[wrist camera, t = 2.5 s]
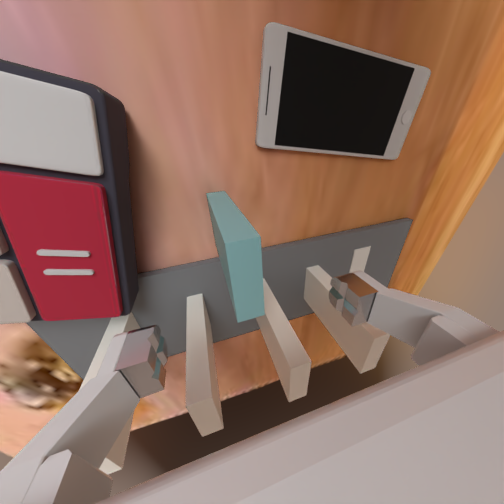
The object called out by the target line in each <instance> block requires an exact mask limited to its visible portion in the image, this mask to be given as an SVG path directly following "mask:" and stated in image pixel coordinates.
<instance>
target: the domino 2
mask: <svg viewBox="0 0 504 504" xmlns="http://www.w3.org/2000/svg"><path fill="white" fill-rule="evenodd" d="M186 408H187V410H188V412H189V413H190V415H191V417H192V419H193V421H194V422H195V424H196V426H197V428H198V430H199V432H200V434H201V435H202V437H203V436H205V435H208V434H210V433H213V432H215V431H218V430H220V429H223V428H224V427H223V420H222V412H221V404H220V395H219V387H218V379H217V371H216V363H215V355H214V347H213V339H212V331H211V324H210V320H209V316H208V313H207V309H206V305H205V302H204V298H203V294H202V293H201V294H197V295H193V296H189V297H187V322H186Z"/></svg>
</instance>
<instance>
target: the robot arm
mask: <svg viewBox="0 0 504 504" xmlns="http://www.w3.org/2000/svg"><path fill="white" fill-rule="evenodd" d="M330 285H331V286H332V288H331V289H330V291H329V300H330V303H331V304H332V306H333V307H334V308H335V309H336V310H338V311H341V312H342V317H343V318H344V319H345V320H346V321H347V322H348V323H349V324H350V325H351V326H355V325H359V324H362V323H365V322H367V323H369V324H370V325H372V326H374V327H376V328H378V329H380V330H382V331H384V332H386V333H388V334H389V335H391V336H393V337H395V338H397V339H399V340H401V341H403V342H405V343H407V344H408V345H411V346H413V347H414V348H415V349H414V351H413V353H412V354H411V359H412V360H413V361H415V363H417V364H418V365H419V366H418V367H416V368H413V369H411V370H408V371H406V372H404V373H402V374H399V375H396V376H394V377H392V378H389V379H387V380H385V381H383V382H380V383H378V384H376V385H373V386H371V387H368V388H366V389H363V390H361V391H359V392H356V393H354V394H352V395H349V396H347V397H344V398H342V399H340V400H337V401H335V402H333V403H330V404H328V405H326V406H323V407H321V408H318V409H316V410H314V411H311V412H309V413H307V414H305V415H302V416H299V417H297V418H295V419H293V420H290V421H288V422H285V423H283V424H281V425H278V426H276V427H273V428H271V429H269V430H266V431H264V432H262V433H260V434H257V435H255V436H252V437H250V438H248V439H245V440H243V441H241V442H238V443H236V444H233V445H231V446H229V447H226V448H224V449H222V450H219V451H217V452H214V453H212V454H210V455H208V456H205V457H203V458H200V459H198V460H195V461H193V462H191V463H188V464H186V465H184V466H182V467H179V468H177V469H174V470H172V471H169V472H167V473H165V474H162V475H160V476H158V477H156V478H153V479H151V480H148V481H146V482H144V483H141V484H139V485H136V486H134V487H132V488H129V489H127V490H125V491H122V492H120V493H118V494H115V495H113V496H110V492H111V488H112V484H113V480H112V478H111V477H110V476H109V475H107V474H106V473H104V472H103V471H101V470H99V468H100V466H101V464H102V463H103V461H104V459H105V458H106V456H107V454H108V453H109V451H110V449H111V448H112V446H113V444H114V443H115V441H116V439H117V438H118V436H119V434H120V433H121V431H122V429H123V428H124V426H125V424H126V423H127V421H128V419H129V418H130V416H131V414H132V413H133V411H134V409H135V408H136V406H137V404H138V403H139V401H140V399H139V398H142V397H145V396H148V395H150V394H153V393H156V392H159V391H161V390H164V387H165V378H166V370H165V369H164V367H163V366H164V365H165V363H166V362H167V359H168V348H167V343H166V340H165V338H164V337H162V336H160V334H161V329H160V328H159V326H158V325H152V326H148V327H144V328H140V329H136V330H131V331H129V332H124V333H120V334H116V335H115V336H114V337H113V338H112V340H111V342H110V344H109V347H108V349H107V352H106V354H105V356H104V359H103V361H102V364H101V366H100V368H99V371H98V373H97V376H96V377H95V378H92V379H90V380H89V381H88V382H87V383H86V384H85V385H84V386H83V387H82V388H81V389H80V390H79V391H78V392H77V394H76V395H75V396H74V397H73V398H72V399H71V400H70V401H69V402H68V403H67V404H66V405H65V406H64V407H63V408H62V409H61V410H60V411H59V412H58V413H57V414H56V415H55V416H54V417H53V418H52V419H51V420H50V421H49V422H48V423H47V424H46V425H45V426H44V427H43V428H42V429H41V430H40V431H39V432H38V433H37V434H36V435H35V436H34V438H33V439H32V440H31V441H30V442H29V443H28V444H27V445H26V446H25V447H24V448H23V449H22V450H21V451H20V452H19V453H18V454H17V455H16V456H15V457H14V458H13V459H12V460H11V461H10V462H9V463H8V464H7V465H6V466H5V467H4V468H3V469H2V470H1V472H0V504H504V330H503V331H501V332H499V331H497V330H495V329H494V328H492V327H490V326H489V325H487V324H485V323H483V322H482V321H480V320H478V319H477V318H475V317H473V316H471V315H470V314H468V313H466V312H465V311H463V310H461V309H459V308H457V307H454V306H451V305H447V304H443V303H440V302H437V301H433V300H430V299H426V298H423V297H420V296H416V295H413V294H409V293H406V292H403V291H399V290H396V289H392V288H391V289H388V288H387V287H385V286H384V285H382V284H381V283H379V282H378V281H376V280H375V279H374V278H372V277H371V276H369V275H368V274H366V273H365V272H363V271H360V270H358V271H354V272H351V273H347V274H344V275H340V276H337V277H333V278H332V279H331V282H330Z"/></svg>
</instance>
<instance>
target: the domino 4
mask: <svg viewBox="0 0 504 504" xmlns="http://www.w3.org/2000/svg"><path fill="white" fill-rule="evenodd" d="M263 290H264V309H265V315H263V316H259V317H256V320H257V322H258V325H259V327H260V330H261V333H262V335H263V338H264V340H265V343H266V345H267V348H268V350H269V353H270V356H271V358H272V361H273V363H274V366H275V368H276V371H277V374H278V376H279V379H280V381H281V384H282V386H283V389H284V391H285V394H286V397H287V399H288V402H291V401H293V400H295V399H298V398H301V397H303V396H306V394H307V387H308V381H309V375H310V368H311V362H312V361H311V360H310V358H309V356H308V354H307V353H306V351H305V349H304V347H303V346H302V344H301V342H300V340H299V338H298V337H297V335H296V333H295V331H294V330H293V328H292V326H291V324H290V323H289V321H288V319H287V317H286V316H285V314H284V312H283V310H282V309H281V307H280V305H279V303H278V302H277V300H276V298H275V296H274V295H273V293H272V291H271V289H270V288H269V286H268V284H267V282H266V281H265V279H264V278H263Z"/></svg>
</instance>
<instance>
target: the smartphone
mask: <svg viewBox="0 0 504 504" xmlns="http://www.w3.org/2000/svg"><path fill="white" fill-rule="evenodd" d="M430 74H431V71H430V69H429V68H426V67H423V66H420V65H416V64H413V63H410V62H406V61H403V60H400V59H396V58H393V57H390V56H386V55H383V54H380V53H376V52H373V51H369V50H366V49H363V48H359V47H356V46H353V45H349V44H346V43H343V42H339V41H336V40H333V39H329V38H326V37H322V36H319V35H316V34H312V33H309V32H306V31H302V30H299V29H296V28H292V27H289V26H286V25H282V24H279V23H275V22H270V23H268V24H267V25H266V26H265V28H264V31H263V44H262V58H261V71H260V85H259V99H258V112H257V126H256V140H255V143H256V145H257V146H259V147H262V148H271V149H282V150H292V151H303V152H314V153H325V154H335V155H346V156H357V157H368V158H378V159H389V160H394V159H397V158H398V156H399V154H400V151H401V148H402V146H403V143H404V141H405V138H406V136H407V133H408V131H409V128H410V125H411V123H412V120H413V118H414V115H415V113H416V110H417V108H418V105H419V102H420V100H421V97H422V95H423V92H424V90H425V87H426V85H427V82H428V79H429V77H430Z"/></svg>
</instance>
